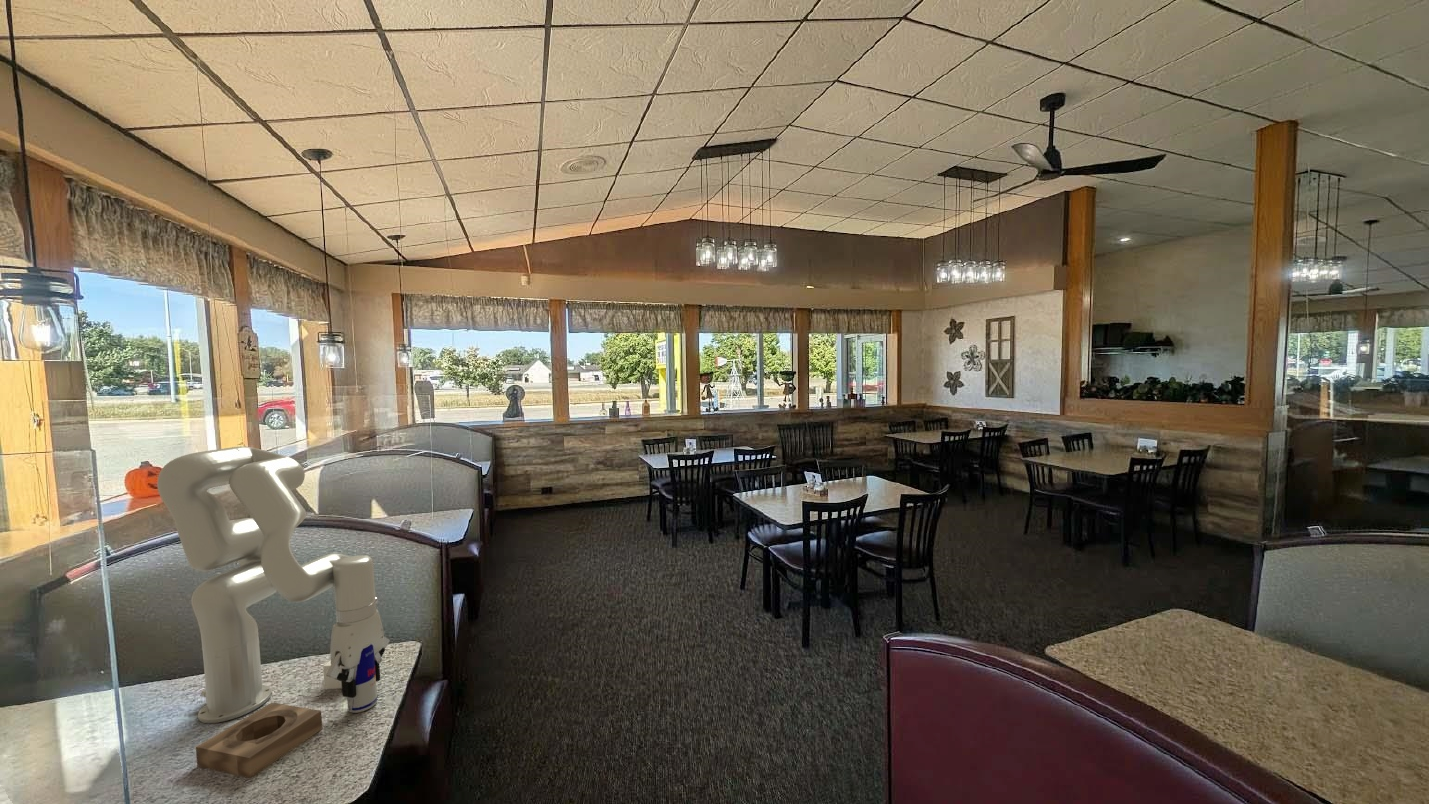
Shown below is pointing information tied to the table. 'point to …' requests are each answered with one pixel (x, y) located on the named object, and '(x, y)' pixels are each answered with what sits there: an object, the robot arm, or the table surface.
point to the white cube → (328, 681)
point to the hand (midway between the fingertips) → (361, 687)
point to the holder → (258, 739)
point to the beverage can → (364, 682)
